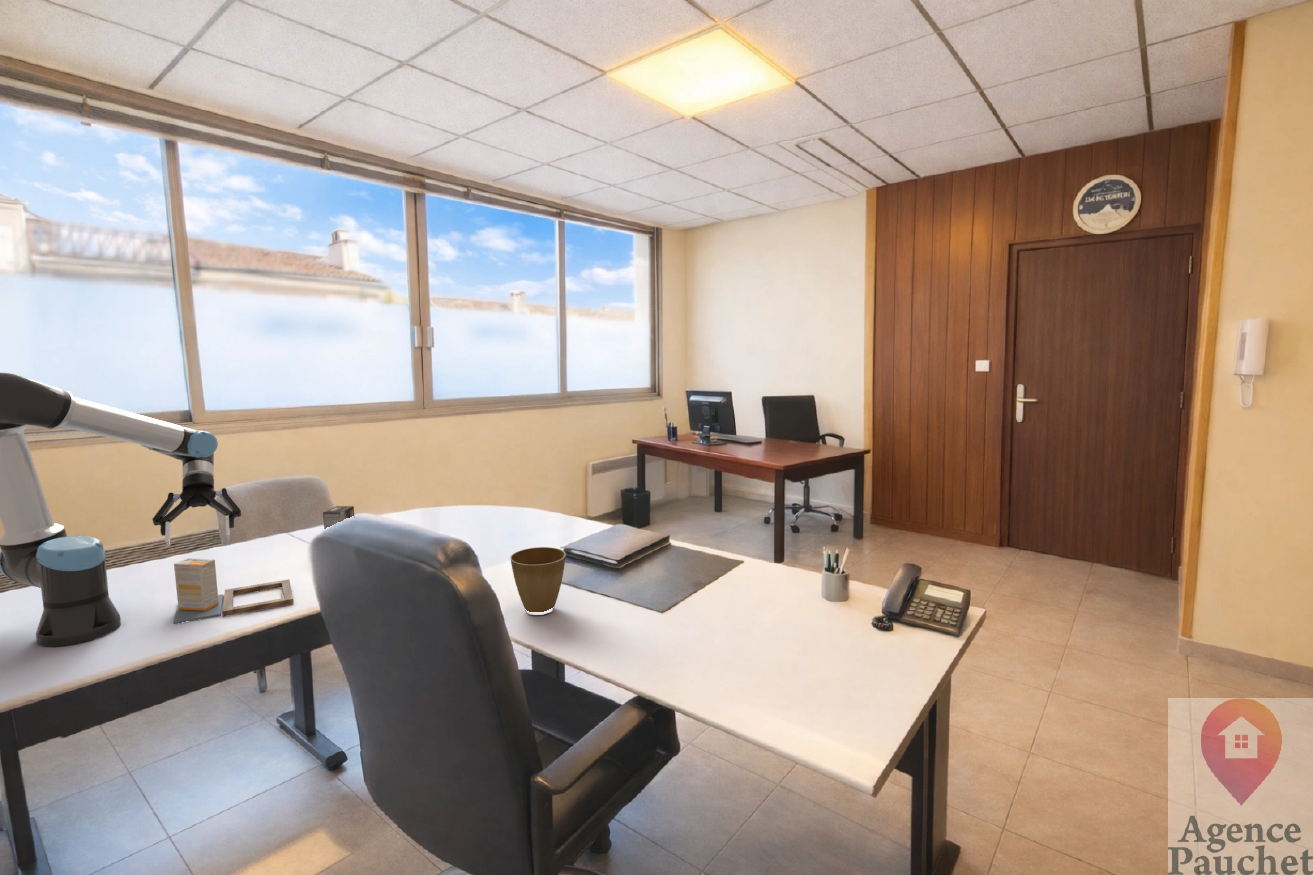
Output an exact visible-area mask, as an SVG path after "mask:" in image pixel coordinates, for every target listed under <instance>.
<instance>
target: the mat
mask: <svg viewBox="0 0 1313 875" xmlns="http://www.w3.org/2000/svg"><path fill="white" fill-rule="evenodd" d="M218 601H219V605H217V606H215V607H213V608H211V609H209V610H207V611H195V610H179V609H178V605H177V606H176V611H175V614H174V618H173V621H172V625H177V624H178V623H179V624H183V623H182V622H184V623H187V622H186V621H190V622H195V621H200V620H199V619H201V620H204V619H205V620H207V619H212V618H217V617H221V616H222V614H223V603H224V594H223V593H222V594H218ZM194 620H195V621H194Z"/></svg>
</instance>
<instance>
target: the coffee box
mask: <svg viewBox="0 0 1313 875" xmlns="http://www.w3.org/2000/svg"><path fill="white" fill-rule="evenodd" d="M322 516H323V530H324V529H326V528H327V527H330V526H332V525H334V524H336V523H337V522H341V521H343V520H344V519H346V518H350V517H352V516H354V517H355V508H354V505H352V506H351V505H349V506H346V505H345V506H344V505H336V506H335V507H332V508H329V509H328V510H325V511H323V512H322Z"/></svg>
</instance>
